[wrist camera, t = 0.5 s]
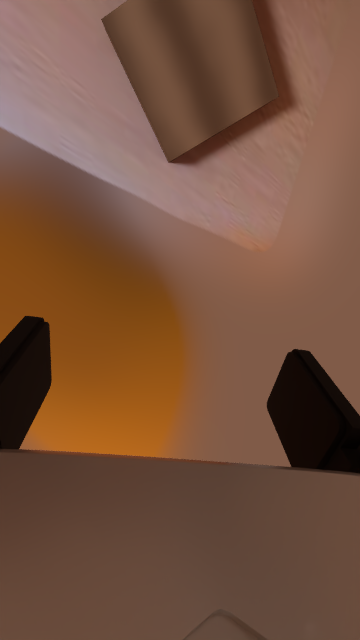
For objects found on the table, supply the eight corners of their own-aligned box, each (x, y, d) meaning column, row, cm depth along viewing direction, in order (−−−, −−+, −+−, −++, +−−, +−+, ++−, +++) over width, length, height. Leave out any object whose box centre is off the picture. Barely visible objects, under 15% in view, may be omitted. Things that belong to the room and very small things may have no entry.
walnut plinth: (223, -51, 27) (230, -75, 24) (269, 102, 33) (279, 96, 30) (106, 32, 29) (101, 19, 27) (168, 162, 35) (168, 162, 32)
